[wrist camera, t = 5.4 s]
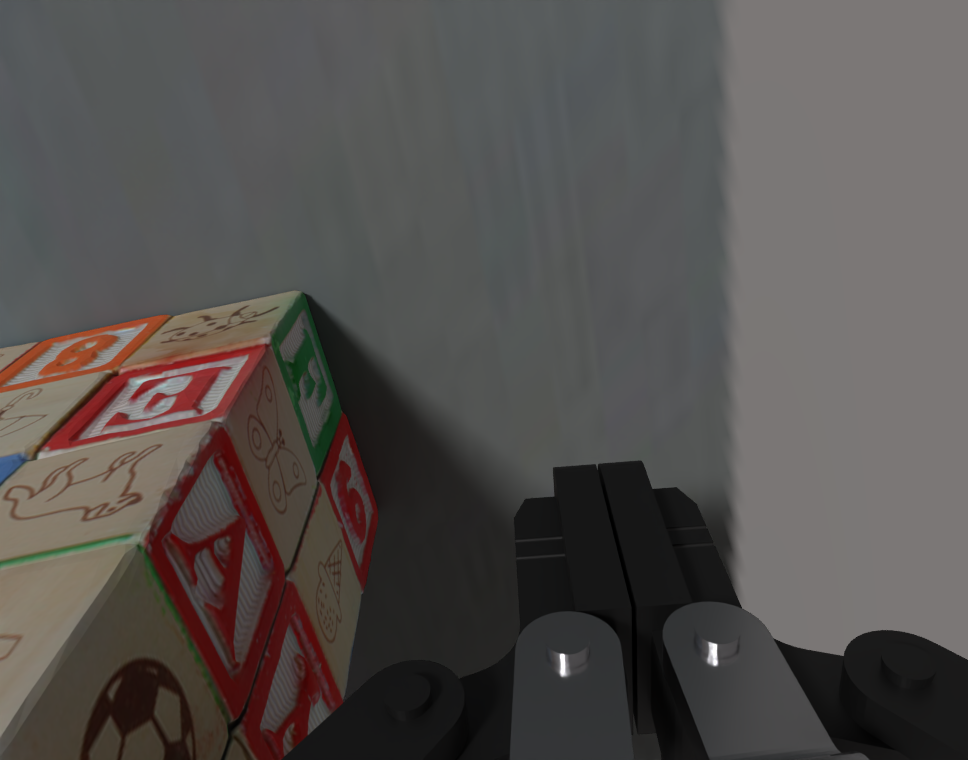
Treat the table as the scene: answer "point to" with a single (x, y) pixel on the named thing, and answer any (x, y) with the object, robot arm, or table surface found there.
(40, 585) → the stack of blocks
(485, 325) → the table surface
